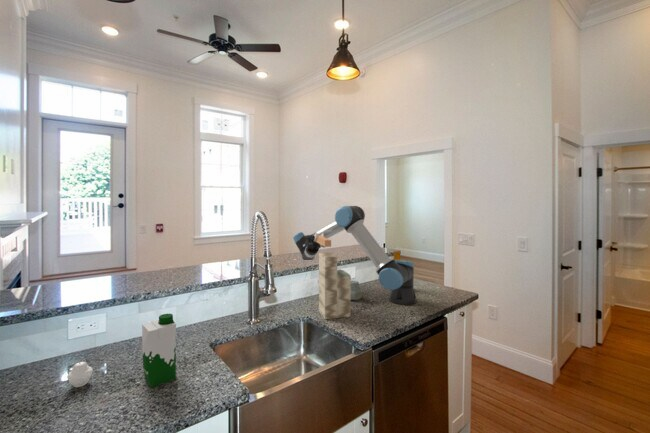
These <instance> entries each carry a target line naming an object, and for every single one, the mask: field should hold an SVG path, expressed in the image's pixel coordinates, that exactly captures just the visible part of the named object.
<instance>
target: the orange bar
mask: <svg viewBox="0 0 650 433" xmlns="http://www.w3.org/2000/svg"><path fill="white" fill-rule="evenodd" d="M317 236H318V237H317V239H316V242H317V243H319V244H320V245H323V246H324V247H323V248H327V247H332V239H329V238H325V237H323V236H321V235H317Z"/></svg>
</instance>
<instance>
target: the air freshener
mask: <svg viewBox="0 0 650 433" xmlns="http://www.w3.org/2000/svg"><path fill="white" fill-rule="evenodd" d="M359 283H360V282H359V281H357V280H351V301H359V300H361V299H362V297H363V296H364V292H363V290H362V289H360V286H359V285H360V284H359Z"/></svg>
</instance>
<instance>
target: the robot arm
mask: <svg viewBox="0 0 650 433" xmlns="http://www.w3.org/2000/svg"><path fill="white" fill-rule="evenodd" d="M334 214H335V215H334V221H333V222H331V223H330V224H328V225H326V226H324V227H322V228H321V229H319V230H317V231H315V232H313V233H312V234H307V235H306V234H304V232H302V231H301V232H297V233H296V234H294V236H292V239H293V241H294V244H296V247H297V248H298V251H299V253H300V254H301V260H302V259H303V260H312V261H314V260H315V257H316V255H317V254H318V253H319V250H320V249H321V248H325V247H324V246H323V245H321V244H319V243H317V242H316V239H317V237H318V236H317V235H321V236H323V237H325V238H327V239H329V238H331V237H333V236H335V235H337V234H338V233H339V234H340V233H341V232H343V231H344V230H345V231H346V233H348V234H351V235H352V236H353V238H354V239H355V241H356V242H357V243H358V244H359V246H360V247H361V249H362V250H363V251H364V253H365V254H366V255H367V256H368V258H369V259H370V261H371V262H372V264H373V265H374V266H375V267H376V268H375V269H376V270H375V271H376V274H377V276H378V282H379V283H380V286H382V287H383V288H384V289H386V290H389V295H388V300H389V302H390V303H394V304H396V305H404V306H406V305H407V306H408V305H414V304H416V303H417V295H416V293H415V289H414V282H415V281H414V277H415V276H414V275H415V274H414V273H415V264H414V262H413V261H411V260H403V259H400V260H394V258H390V257H389V256H388V254H386V251H385V250H384V249H383V248H382V247H381V245H380V244H379V243H378V242H377V240H376V239H375V238H374V236H373V235H372V234H371V232H370V231H369V229H367V227H366V225H365V224H364V222H365V217H366V214H365V211H364V209H363V208H361V207H360V206H358V205H344V206H340V207H338V209H337V210H336V211H335V213H334ZM303 260H302V261H303Z"/></svg>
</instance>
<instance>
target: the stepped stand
mask: <svg viewBox="0 0 650 433" xmlns="http://www.w3.org/2000/svg"><path fill="white" fill-rule="evenodd" d="M351 278H352V276H351V274H350V273H348V272H346V271H345V270H343V269H338V256H337V255H335V254H333V253H332V252H318V311H319V313H320V314H321V315H322V317H323V318H324V320H328V319H329V320H330V319H337V318H339V319H340V318H349V317H351V303H352V302H351V301H352V300H351V281H352V279H351Z"/></svg>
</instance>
